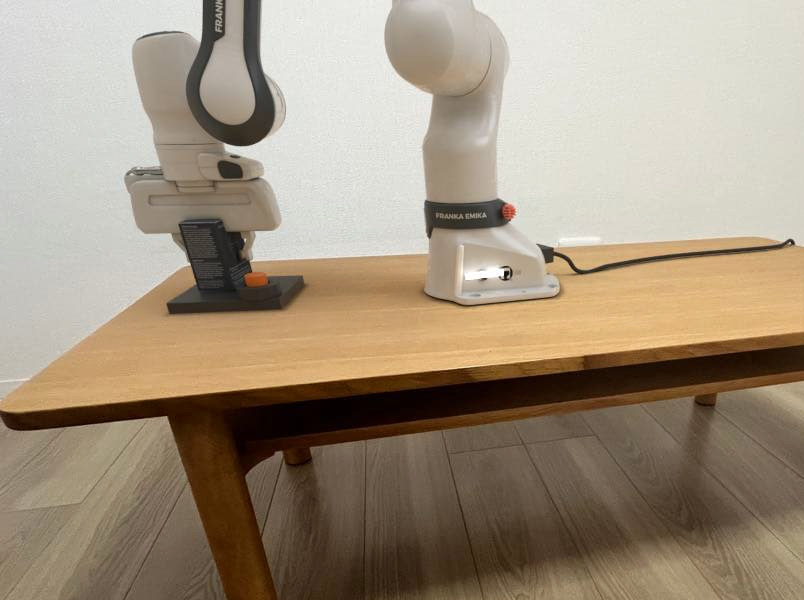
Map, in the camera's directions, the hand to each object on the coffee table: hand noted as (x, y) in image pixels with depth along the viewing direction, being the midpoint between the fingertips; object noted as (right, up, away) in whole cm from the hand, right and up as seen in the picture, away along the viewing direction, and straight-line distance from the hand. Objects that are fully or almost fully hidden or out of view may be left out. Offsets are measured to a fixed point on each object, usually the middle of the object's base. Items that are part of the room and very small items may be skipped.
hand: (221, 261), depth 85 cm
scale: (+3, -6, +1) cm, 6 cm away
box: (0, -4, +2) cm, 4 cm away
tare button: (+8, -5, -4) cm, 10 cm away
